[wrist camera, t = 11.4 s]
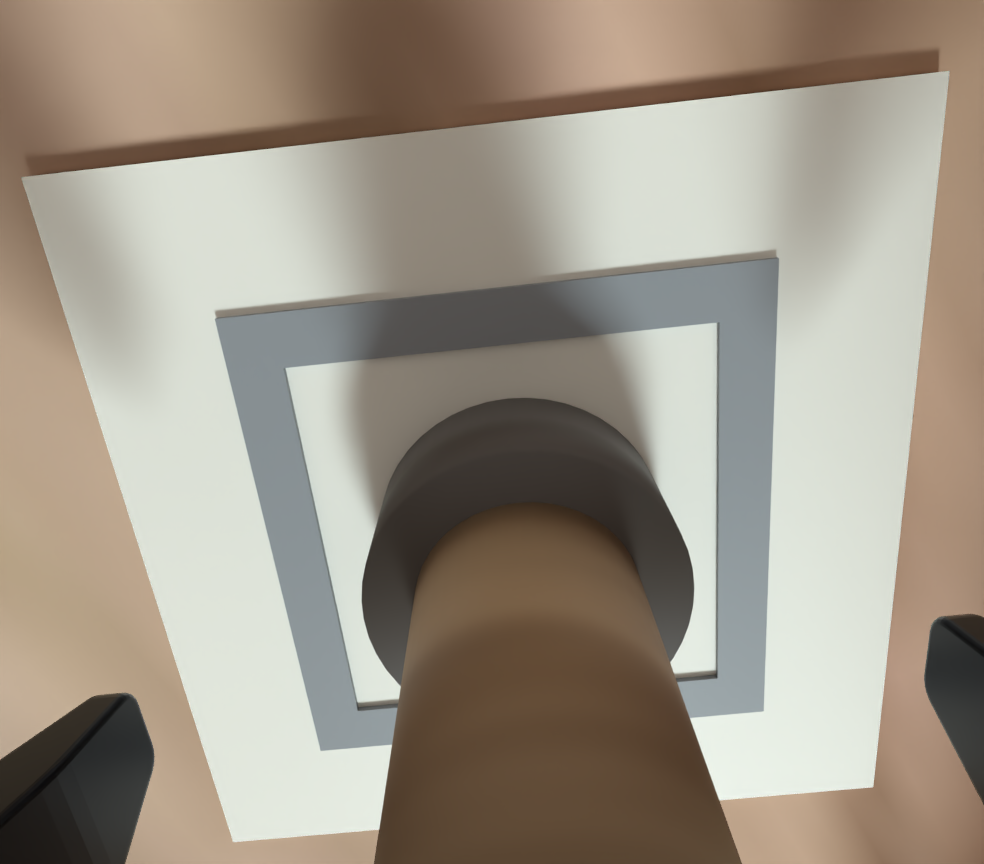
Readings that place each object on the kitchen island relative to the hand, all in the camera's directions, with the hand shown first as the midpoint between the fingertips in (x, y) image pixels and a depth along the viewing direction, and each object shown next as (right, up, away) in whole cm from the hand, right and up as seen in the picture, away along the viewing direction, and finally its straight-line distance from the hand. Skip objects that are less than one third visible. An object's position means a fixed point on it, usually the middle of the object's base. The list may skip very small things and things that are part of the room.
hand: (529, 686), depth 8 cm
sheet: (0, +1, +4) cm, 4 cm away
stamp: (0, +1, +3) cm, 4 cm away
